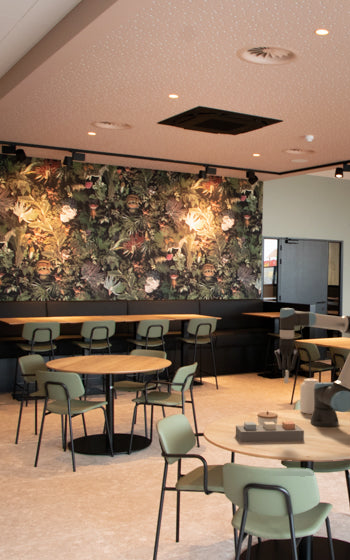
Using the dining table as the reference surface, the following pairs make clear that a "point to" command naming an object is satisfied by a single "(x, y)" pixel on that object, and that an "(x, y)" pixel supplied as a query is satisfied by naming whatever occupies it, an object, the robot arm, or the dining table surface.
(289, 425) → the key terracotta
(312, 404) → the can
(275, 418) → the lidded jar
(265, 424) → the key ivory
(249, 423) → the grey cube
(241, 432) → the console
